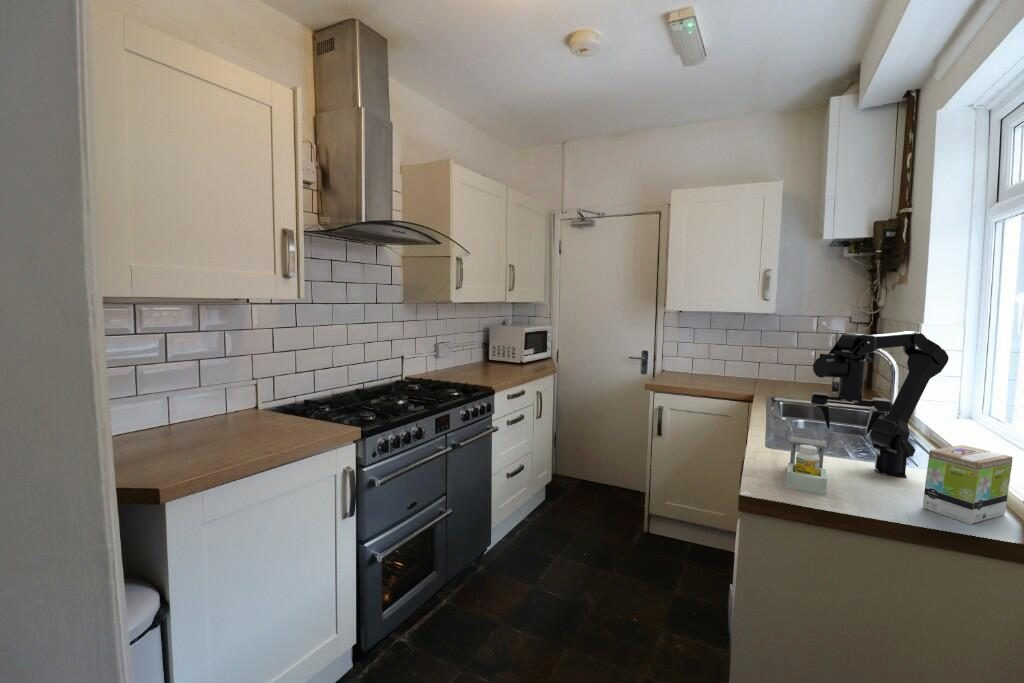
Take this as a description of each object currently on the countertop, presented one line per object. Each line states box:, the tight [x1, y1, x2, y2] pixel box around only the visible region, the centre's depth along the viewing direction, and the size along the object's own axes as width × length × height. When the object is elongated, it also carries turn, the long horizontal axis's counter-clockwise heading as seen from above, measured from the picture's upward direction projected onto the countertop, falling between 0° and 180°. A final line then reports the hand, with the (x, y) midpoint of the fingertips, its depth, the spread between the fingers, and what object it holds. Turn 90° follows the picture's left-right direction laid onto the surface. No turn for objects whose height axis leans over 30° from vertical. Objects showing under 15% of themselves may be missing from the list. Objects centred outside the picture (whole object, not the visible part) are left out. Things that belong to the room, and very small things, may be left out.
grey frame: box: [789, 436, 828, 468], centre depth 140 cm, size 9×6×8 cm, turn 59°
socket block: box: [785, 462, 828, 496], centre depth 134 cm, size 9×20×4 cm, turn 149°
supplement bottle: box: [795, 445, 820, 476], centre depth 130 cm, size 5×5×10 cm
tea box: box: [922, 444, 1013, 525], centre depth 115 cm, size 15×10×15 cm, turn 114°
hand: (847, 430), depth 138 cm, fingers open, 9 cm apart
